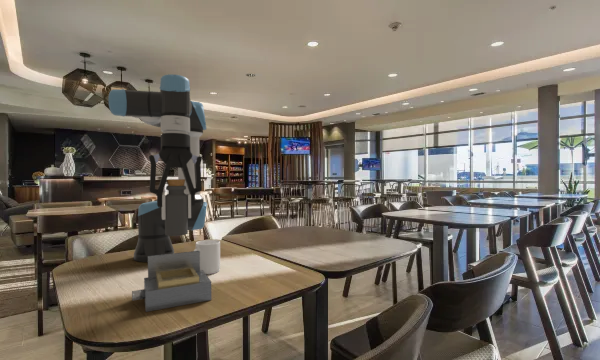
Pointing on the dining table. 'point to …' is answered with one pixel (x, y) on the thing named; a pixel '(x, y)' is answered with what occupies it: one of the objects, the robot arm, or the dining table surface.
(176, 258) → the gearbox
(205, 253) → the mug
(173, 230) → the bottle
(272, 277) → the dining table surface
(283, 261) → the dining table surface
